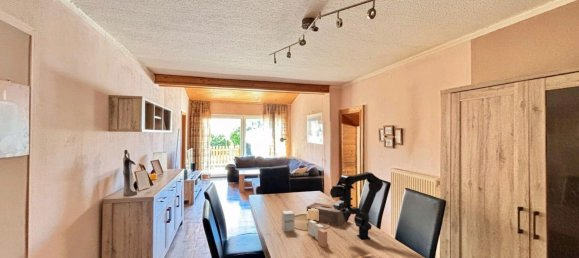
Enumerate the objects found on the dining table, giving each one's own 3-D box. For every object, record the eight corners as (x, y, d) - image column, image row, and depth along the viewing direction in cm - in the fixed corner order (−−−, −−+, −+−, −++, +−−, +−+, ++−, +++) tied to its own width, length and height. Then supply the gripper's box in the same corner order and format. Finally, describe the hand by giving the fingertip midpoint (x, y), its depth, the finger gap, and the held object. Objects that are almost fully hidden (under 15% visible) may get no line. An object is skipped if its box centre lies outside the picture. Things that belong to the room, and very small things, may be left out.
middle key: (319, 237, 166) (319, 223, 166) (323, 240, 161) (323, 226, 162) (315, 238, 164) (315, 224, 165) (319, 241, 160) (319, 227, 160)
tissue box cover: (306, 219, 204) (306, 206, 204) (315, 215, 216) (315, 202, 216) (338, 226, 190) (338, 212, 190) (345, 220, 202) (345, 207, 202)
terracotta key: (322, 243, 157) (322, 228, 157) (327, 246, 153) (327, 231, 153) (317, 244, 156) (318, 229, 156) (322, 247, 151) (322, 232, 151)
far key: (312, 233, 173) (312, 220, 173) (316, 235, 168) (316, 222, 169) (308, 233, 171) (308, 220, 172) (312, 236, 167) (312, 223, 167)
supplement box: (283, 233, 175) (283, 213, 175) (281, 229, 182) (281, 210, 183) (294, 232, 177) (294, 213, 177) (291, 228, 184) (292, 210, 184)
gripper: (326, 194, 167) (326, 219, 167) (345, 201, 151) (345, 228, 151) (340, 192, 173) (340, 216, 172) (360, 198, 156) (360, 225, 156)
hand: (346, 221), depth 163 cm, fingers closed
